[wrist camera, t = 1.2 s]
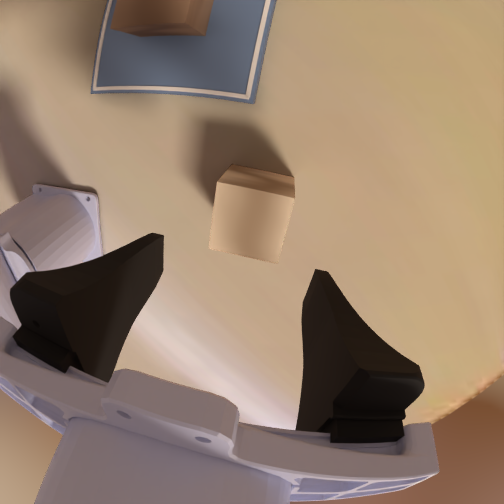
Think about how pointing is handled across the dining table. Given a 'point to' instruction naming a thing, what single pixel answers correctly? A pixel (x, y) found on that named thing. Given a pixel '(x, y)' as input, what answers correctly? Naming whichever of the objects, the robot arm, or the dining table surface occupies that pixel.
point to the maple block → (251, 213)
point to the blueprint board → (183, 47)
